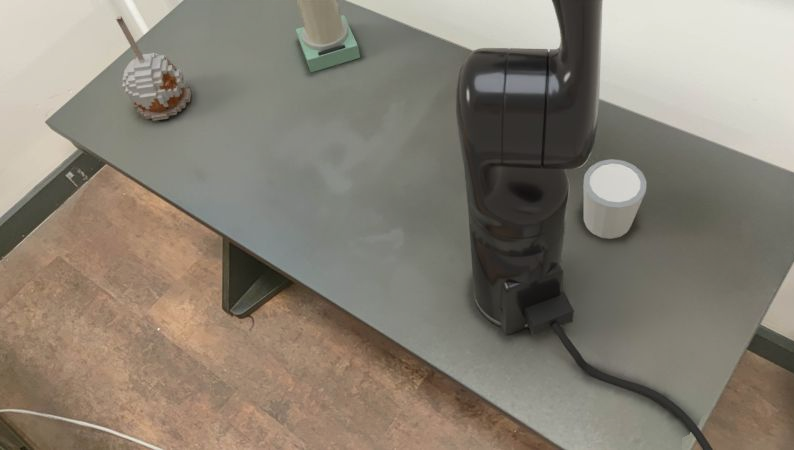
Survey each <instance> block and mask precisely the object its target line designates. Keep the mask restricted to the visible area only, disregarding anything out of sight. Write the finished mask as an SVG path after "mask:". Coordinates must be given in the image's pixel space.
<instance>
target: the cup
mask: <svg viewBox="0 0 794 450" xmlns="http://www.w3.org/2000/svg"><path fill="white" fill-rule="evenodd" d="M296 2H297V3H296V4H297V8H298V11H299V14H300V17H301V21H302V24H303V27H304V28H305V32H306V34H307V37H308V39H309V40H310V41H311V42H313V43H316V44H328V43H331V42H334V41H336V40H337V39H339V38H340V37H341V35H342V34H343V24H342V19H341V16H342V15H341V12H340V7H339V3H338V0H296Z"/></svg>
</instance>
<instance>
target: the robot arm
mask: <svg viewBox="0 0 794 450" xmlns="http://www.w3.org/2000/svg"><path fill="white" fill-rule="evenodd" d="M603 2H604V1H603V0H551V3H552V5H553V9H554V12H555V16H556V20H557V24H558V30H559V36H560V44H559V46H558V47H557V48H550V49H549V48H520V47H519V48H517V47H516V48H515V47H510V48H509V47H481V48H477V49H474V50H473V51H472V52H470V53H469V54H468V55H467V56H466V58H465V59H464V61H463V63H462V65H461V67H460V69H459V73H458V77H457V85H456V93H455V104H456V105H455V114H456V115H455V116H456V124H457V131H458V132H457V133H458V141H459V147H460V151H461V156H462V157H461V158H462V163H463V170H464V179H465V189H466V190H465V191H466V201H467V202H466V203H467V210H468V211H467V212H468V229H469V239H470V240H469V241H470V256H471V257H470V258H471V270H472V272H471V273H472V281H473V284H472V285H473V286H472V293H473V300H474V303H475V306H476V308H477V309H478V311H479V312H480V314H481V315H482V316H483V317H484V318H485V319H486V320H488V321H489V322H490V323H492V324H494V325H496V326H498V327H501V329H502V330H503V332H504V334H505V335H511V334H514V333H516V332H520V331H522V330H525V329H528V328H529V329H528V330H529V331H530V332H531V335H532V336H533V337H535V336H537V335H539V334H542V333H545V332H547V331H550V330H552V331H553V332H554V333H555V335H556V336H557V338H558V340H559V341H560V343H561V344H562V346H563V347H564V348H565V349H566V351H567V353H569V355H570V356H571V357H572V359H573V360H574V361H575V363H576V364H577V366H578V367H579V368H580V369H581V370H582V371H583V372H585V373H587V374H588V375H589V376H592V377H593V378H595V379H597V380H600V381H602V382H604V383H607V384H610V385H613V386H615V387H619V388H622V389H626V390H629V391H632V392H634V393H638V394H641V395H643V396H646V397H648V398H649V399H652V400H654V401H656V402H658V403H659V404H661V405H662V406H664V407H665V408H666V409H668V410H669V411H670V412H672V413H673V414H674V415H675V416H676V417H677V418H678V419H679V420H680V421H681V423H683V424H684V425H685V426H686V428H687V429H688V430H689V431H690V433H691V434H692V435H693V437H694V438H695V440H696V441H697V443H698V444H699V446H700V447H701V449H702V450H714V449H713V447H712V445H711V444H710V443H709V441H708V440H707V438H706V437H705V435H704V433H703V432H702V431H701V429H700V428H699V426H697V424H696V423H695V421H694V420H693V419H692V418H691V417H690V416H689V415H688V414H687V413H686V412H685V411H684V410H683V409H682V408H681V406H679V405H677V404H676V403H675V402H674V401H673V400H672V399H669V398H668V397H667V396H665V395H663V394H661V393H660V392H658V391H656V390H655V389H652V388H650V387H648V386H644V385H642V384H639V383H636V382H633V381H629V380H626V379H622V378H619V377H617V376H613V375H610V374H607V373H605V372H603V371H601V370H599V369H597V368H595V367H594V366H592V365H591V364H590V363H588V362H587V361H586V360H585V359H584V357H583V356H582V354H581V353H580V352H579V350H578V349H577V348H576V346H575V344H573V342H572V341H571V339H570V338H569V336H568V335H567V333H566V332H565V331H564V329H563V328H562V326H564V325H566V324H569V323H572V322H573V321H574V314H575V310H574V308H573V306H572V304H571V302H570V300H569V298H568V297H567V295H566V293H565V291H564V290H562V286H563V279H564V278H563V277H564V268H563V267H562V256H563V248H564V246H563V245H564V239H565V229H566V222H567V214H568V207H569V198H570V179H569V175H568V172H567V170H575V169H580V168H581V167H583V166H585V164H586V163H587V162H588V160H589V158H590V156H591V154H592V152H593V149H594V145H595V141H596V135H597V130H598V122H599V121H598V120H599V111H600V110H599V109H600V93H601V92H600V90H601V89H600V88H601V60H602V59H601V58H602V31H603V30H602V28H603Z"/></svg>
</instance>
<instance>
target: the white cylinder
mask: <svg viewBox="0 0 794 450" xmlns="http://www.w3.org/2000/svg"><path fill="white" fill-rule="evenodd" d="M583 176H584V177H583V187H582V190H583V223H584V225H585V228H586V229H587V230H588V231H589V232H590V233H591V234H592V235H594V236H596V237H598V238H601V239H609V240H612V239H617V238H621V237H623V236H625V235H626V234H627V233H628V232H629V231H630V229H631V227H632V225H633V223H634V221H635V219H636V216H637V213H638V211H639V209H640V207H641V205H642V202H643V199H644V197H645V194H646V192H647V178H646V177H645V175H644V173H643V171H641V170H640V169H639V168H638V167H636V166H635V164H632V163H630V162H628V161H626V160H623V159H613V158H610V159H605V160H600V161H598V162H595V163H594V164H592V165H591V166H589V167H588V169H587V170H586V172H585V173H584V175H583Z"/></svg>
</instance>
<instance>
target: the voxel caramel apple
mask: <svg viewBox="0 0 794 450" xmlns="http://www.w3.org/2000/svg"><path fill="white" fill-rule="evenodd" d="M115 20H116V22H117V23H118V26H119V27H120V29H121V31H122V33H123V34H124V37H125V38H126V40H127V42H128V44H129V45H130V48H131V49H132V51H133V53H134V54H135V56H136V57H135V58H133V59H131V61H129V62H128V64H127V65H126V68H125V69H124V71H123V76H122V84H121V88H122V89H123V91H124V92H125V94H126V96H127V97H128V99H129V101H130V103H131V104H134V107H133V108H134V109H135V110H137V111H136V112H137V114H138V115H140V117H142V118H144V119H145V120H148V119H151V121H154V122H155V121H160V120H167V119H169V118H170V117H171V116H175V115H176V116H177V115H178V113H179V112H181V111H182V109H185V108H186V105H187V103H191V96H192V90H191V88H189V84H188V83H186V80H185V75H184V73H183V71H182V70H181V68H178V67H177V66H176V64H175V63H173V62H172V61H171V59H170V58H168V56H167V54H161V55H160V54H159V53H155V52H150V53H143V54H142V52H141V49H140V48H139V46H138V45H137V42H136V41H135V39H134V37H133V36H132V34H131V32H130V29H129V28H128V26H127V24H126V22H125V20H124V18H123V17H122V15H119V16H116V18H115Z"/></svg>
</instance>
